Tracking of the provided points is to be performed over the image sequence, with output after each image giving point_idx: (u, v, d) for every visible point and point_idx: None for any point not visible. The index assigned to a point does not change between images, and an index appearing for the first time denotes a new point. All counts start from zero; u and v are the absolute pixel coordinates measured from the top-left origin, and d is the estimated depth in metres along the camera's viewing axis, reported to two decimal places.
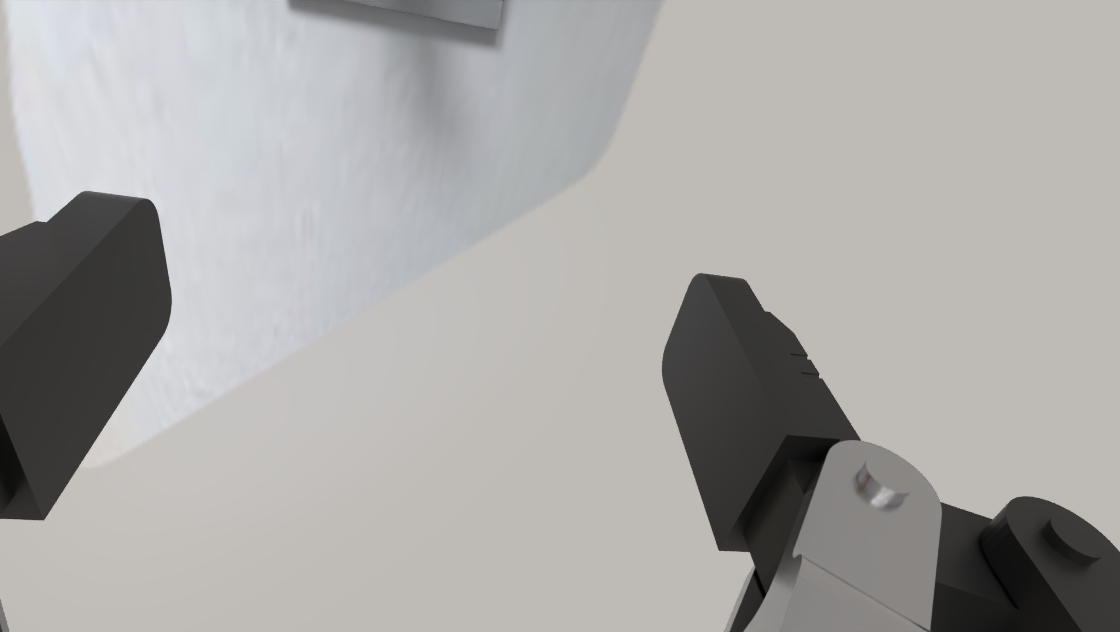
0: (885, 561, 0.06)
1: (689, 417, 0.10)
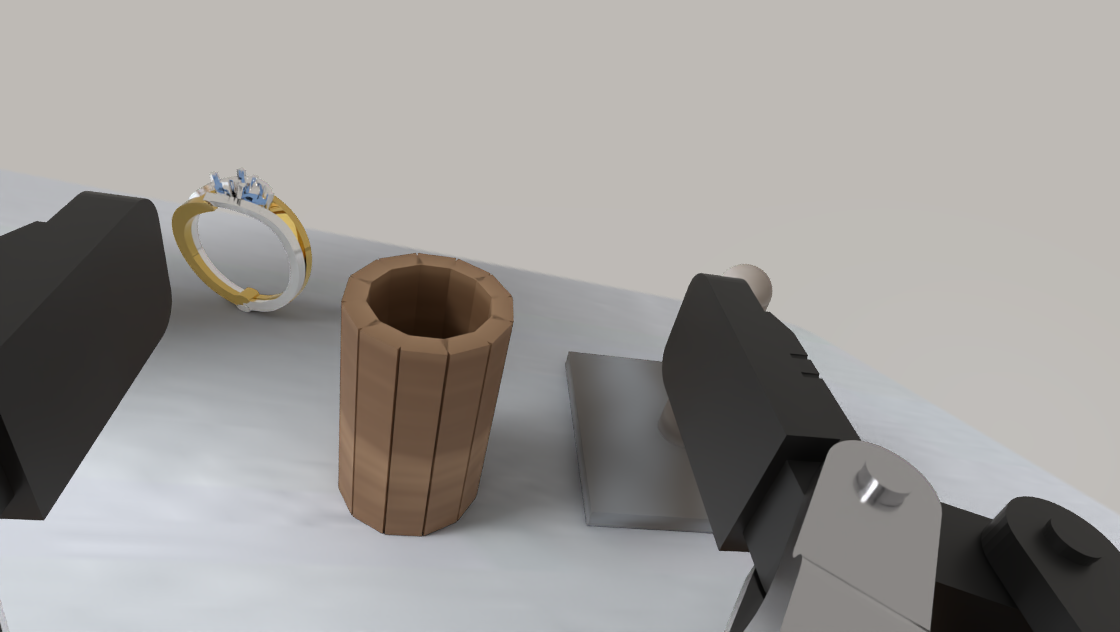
0: (884, 561, 0.06)
1: (689, 417, 0.10)
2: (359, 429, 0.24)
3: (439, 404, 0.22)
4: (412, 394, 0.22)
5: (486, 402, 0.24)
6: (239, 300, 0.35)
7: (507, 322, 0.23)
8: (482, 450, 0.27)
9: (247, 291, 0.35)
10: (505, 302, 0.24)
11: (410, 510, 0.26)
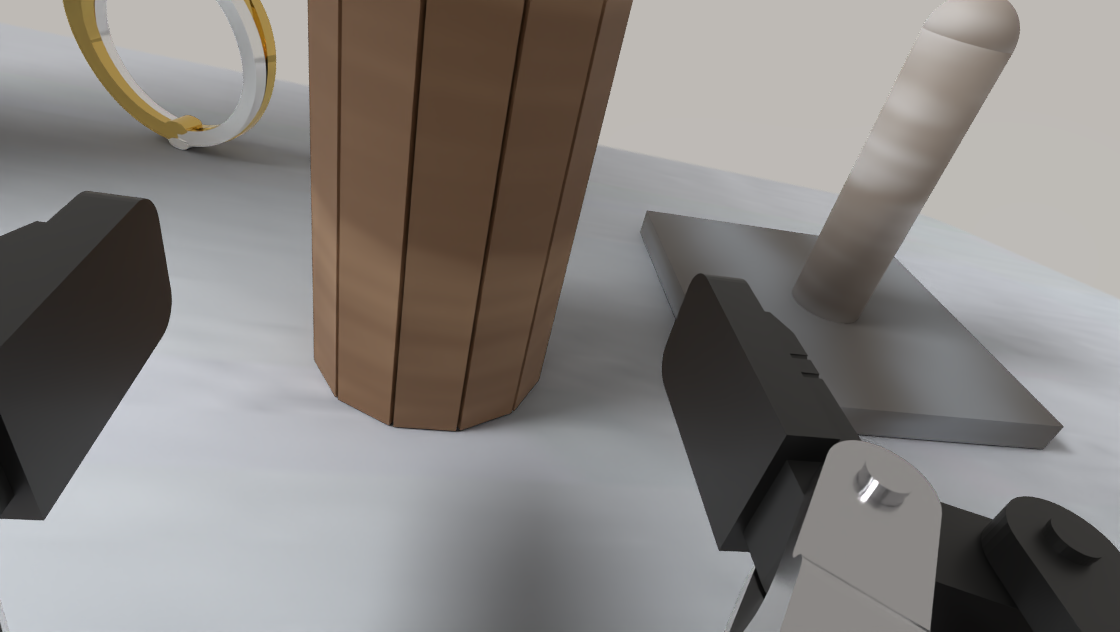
0: (885, 560, 0.06)
1: (689, 417, 0.10)
2: (346, 205, 0.13)
3: (502, 126, 0.11)
4: (451, 96, 0.11)
5: (579, 162, 0.13)
6: (172, 130, 0.24)
7: None
8: (558, 281, 0.16)
9: (184, 118, 0.24)
10: None
11: (438, 377, 0.15)
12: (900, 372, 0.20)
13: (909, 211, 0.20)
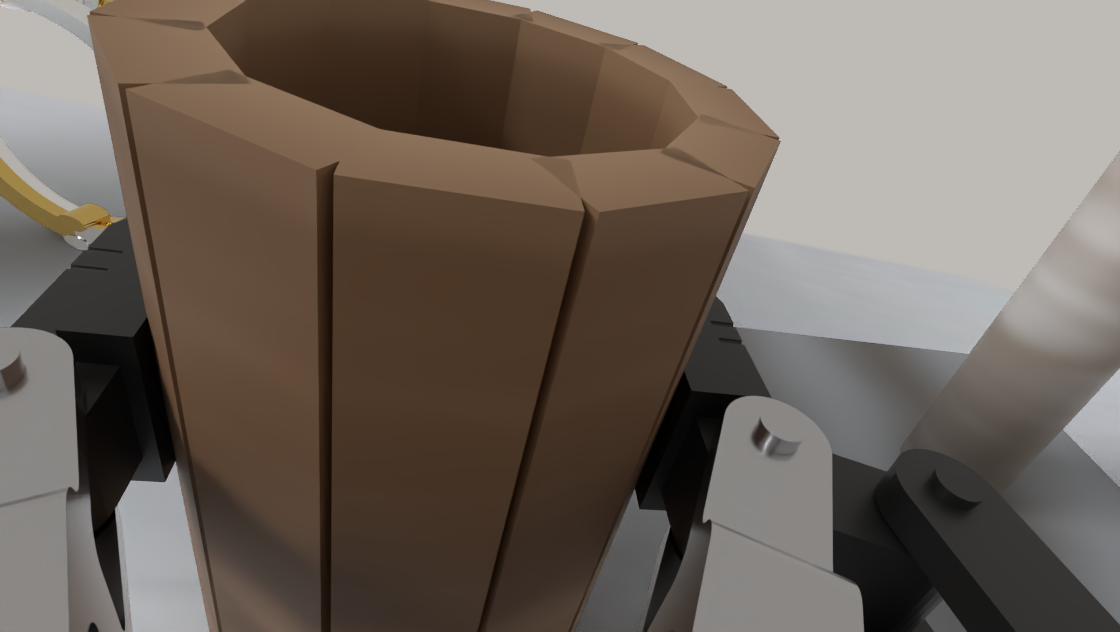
0: (786, 509, 0.06)
1: None
2: (215, 541, 0.07)
3: (517, 456, 0.05)
4: (404, 417, 0.05)
5: (654, 435, 0.07)
6: (67, 226, 0.18)
7: (756, 142, 0.06)
8: (602, 563, 0.10)
9: (83, 209, 0.18)
10: (718, 95, 0.07)
11: None
12: None
13: (1099, 381, 0.13)
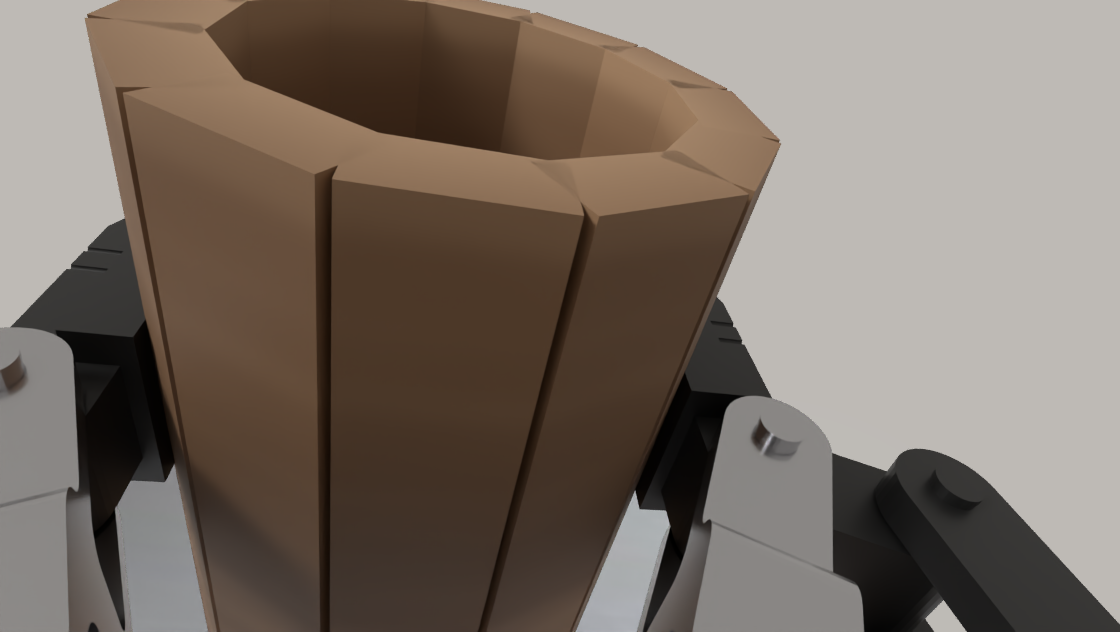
0: (786, 510, 0.06)
1: None
2: (214, 544, 0.07)
3: (517, 460, 0.05)
4: (403, 422, 0.05)
5: (654, 437, 0.07)
6: None
7: (756, 143, 0.06)
8: (602, 566, 0.10)
9: None
10: (719, 98, 0.07)
11: None
12: None
13: None
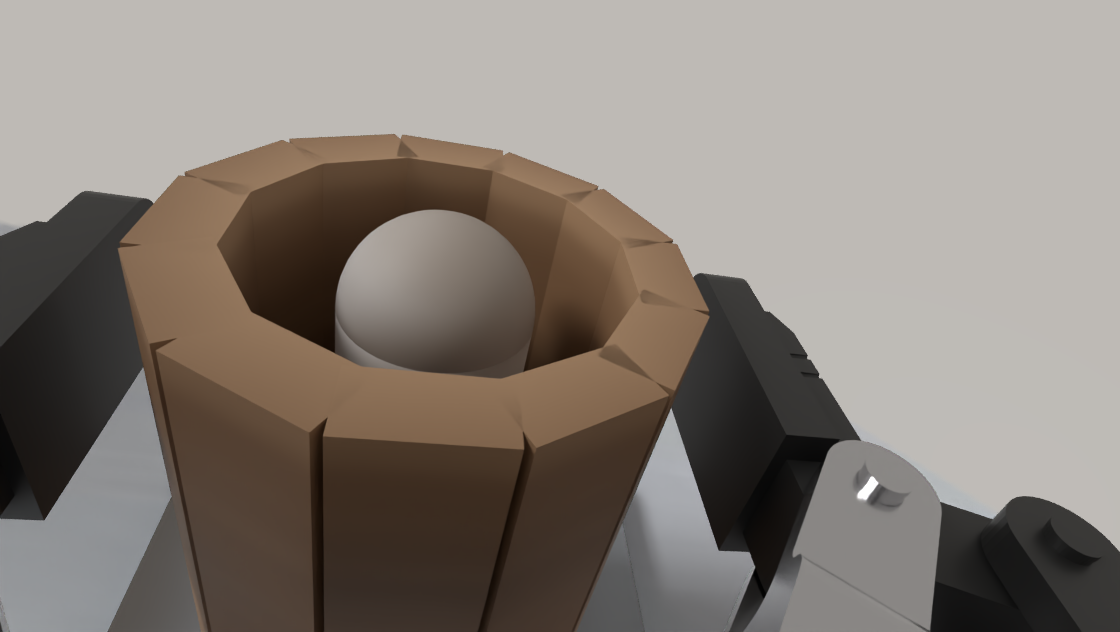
0: (884, 561, 0.06)
1: (689, 417, 0.10)
2: None
3: (481, 606, 0.06)
4: (384, 585, 0.06)
5: (609, 550, 0.08)
6: None
7: (689, 315, 0.07)
8: None
9: None
10: (663, 256, 0.08)
11: None
12: None
13: None
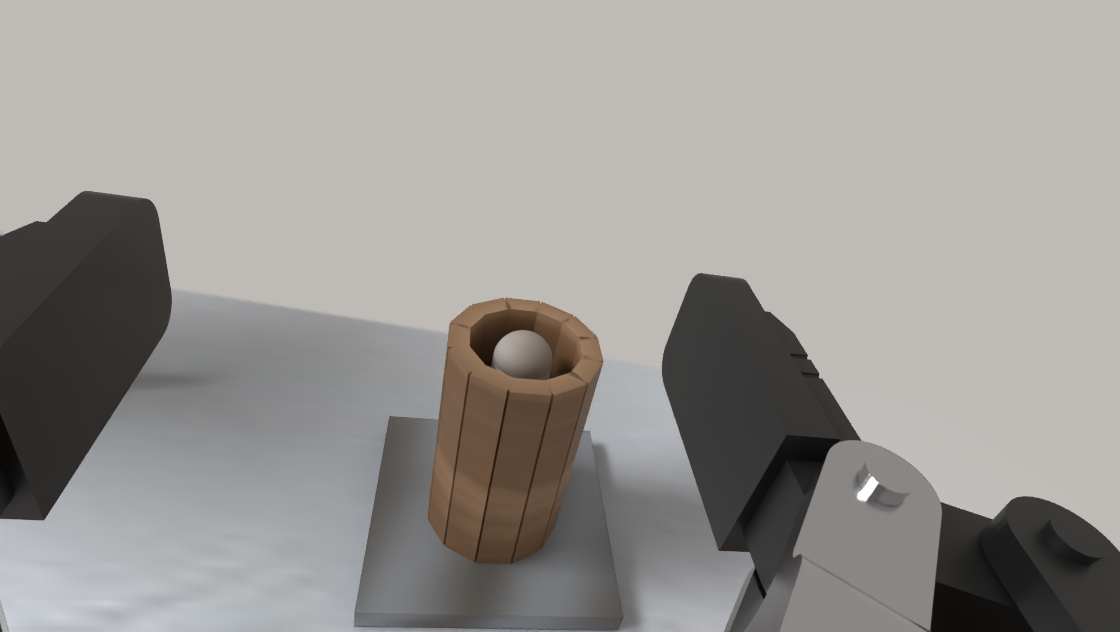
0: (884, 561, 0.06)
1: (689, 417, 0.10)
2: (460, 465, 0.25)
3: (539, 440, 0.24)
4: (516, 432, 0.24)
5: (576, 436, 0.26)
6: None
7: (597, 362, 0.25)
8: (566, 481, 0.28)
9: None
10: (592, 343, 0.26)
11: (502, 539, 0.27)
12: (513, 574, 0.28)
13: None
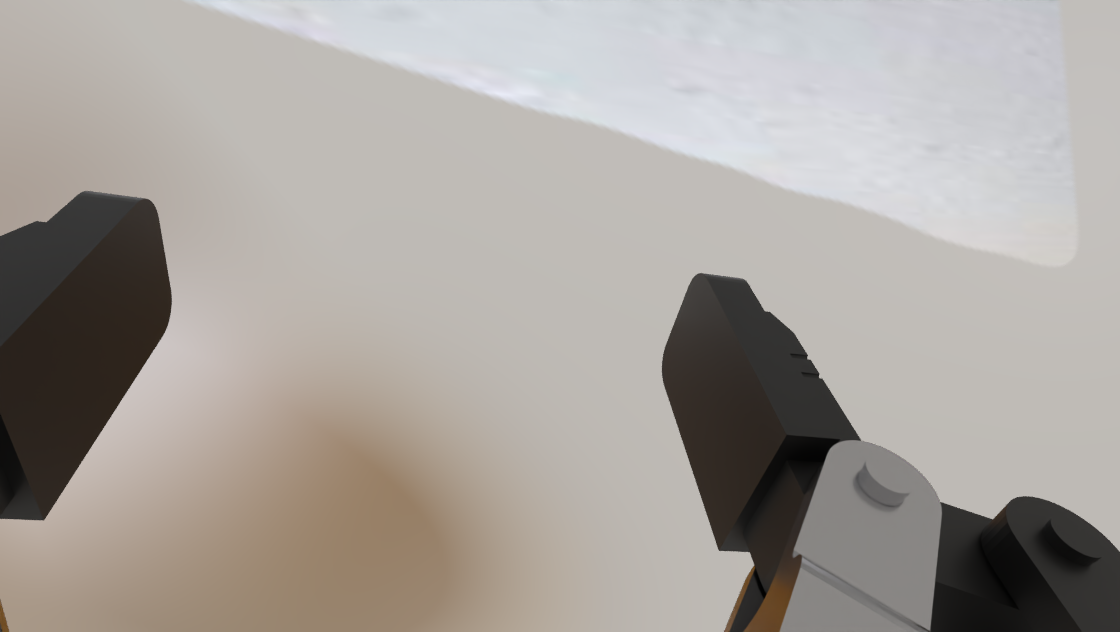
0: (883, 560, 0.06)
1: (689, 417, 0.10)
2: None
3: None
4: None
5: None
6: None
7: None
8: None
9: None
10: None
11: None
12: None
13: None
